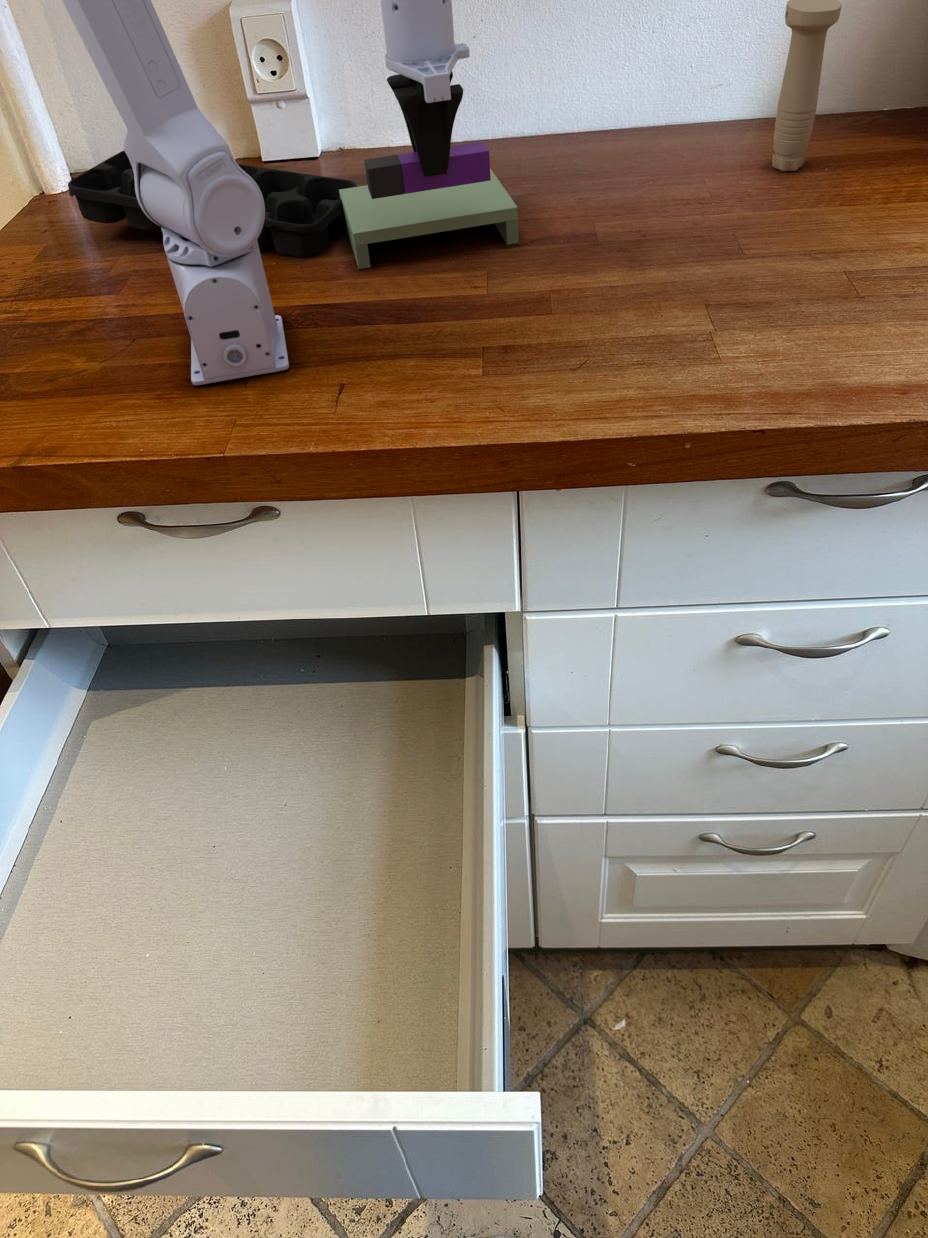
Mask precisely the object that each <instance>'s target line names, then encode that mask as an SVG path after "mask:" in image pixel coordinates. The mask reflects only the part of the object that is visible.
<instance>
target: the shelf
mask: <svg viewBox="0 0 928 1238" xmlns="http://www.w3.org/2000/svg"><path fill="white" fill-rule="evenodd" d="M490 176H491V180H490V181H484V182H478V183H472V184H465V185H459V186H452V187H446V188H440V189H433V190H427V191H421V192H414V193H408V194H405V193H404V194H402V195H395V196H389V197H383V198H376V199H372V198H371V195H370V192H369V189H368V184H366V185H360V186H357V187H353V188H347V189H340V190H339V194H340V199H341V200H342V205H343V210H344V213H343V214H344V221H345V227H344V228H345V230H346V233H347V236H348V239H349V242H350V246H351V248H352V253H353V255H354V259H355V261H356V264H357V268H358V270H363V269H368V268H369V269H370V268H371V267H372V265H371V259H370V252H369V245H370V244H376V243H382V242H388V241H394V240H399V239H407V238H412V237H418V236H425V235H431V234H437V233H444V232H450V231H456V230H461V229H468V228H474V227H480V226H486V225H492V224H493V225H494V226H495V228H496V230H497V231H498V233H499V234H500V236H501V237H502V239H503V240H504V242H505V244H506V245H507V246H509V245H516V244H519V242H520V240H519V239H520V237H519V211H518V210H519V209H518V208H519V207H518V205H516V203H515V202H514V200H513V198H512V197H511V196H510V194H509V193H508V191H507V190H506V188H505V187H504V186H503V185H502V183H501V181H500V180H499V179H498V177H497V175H496V174H495V172H494V171H493V170H492V168H491V167H490Z"/></svg>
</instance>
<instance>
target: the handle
mask: <svg viewBox="0 0 928 1238" xmlns="http://www.w3.org/2000/svg"><path fill="white" fill-rule="evenodd" d="M842 6H843V5H842V2H841V1H840V0H788V1H787V2H786V5H785V12H784V13H785V14H784V20H785V25H786V26H787V27H789V28H790V29H791V35H790V36H791V37H790V43H789V48H788V53H787V57H786V63H785V69H784V72H783V73H784V74H783V79H782V82H781V88H780V93H779V98H778V102H777V108H776V116H775V122H774V130H773V131H774V133H773V152H774V154H772V156H771V157H772V158H771V165H772V168H773V169H776V170H779V171H780V172H796V171H798V170H799V168H802V166H803V165H804V162H805V159H806V155H807V154H806V152H807V150H808V147H809V144H810V139H811V138H812V137H811V136H812V132H813V128H814V124H815V123H814V122H815V119H816V115H817V114H816V113H817V108H818V101H819V93H820V84H821V77H822V69H823V68H822V67H823V60H824V52H825V45H826V40H827V39H826V38H827V32H828V30H829V29H830V28H831V27H832V26H834V25H835V24H837V23H838V22H839V19H840V16H841V12H842V11H841V10H842Z"/></svg>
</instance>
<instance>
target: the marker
mask: <svg viewBox="0 0 928 1238" xmlns="http://www.w3.org/2000/svg"><path fill="white" fill-rule="evenodd" d="M490 157H491V156H490V150H489V148H488V146H486V144H485V142H484V141H477V142H472V143H471V142H470V143H464V144H458V145H451V146H450V156H449V164H448V170H447V173H446V174H441V175H435V176H428V177H425V176H424V174H423V171H422V169H421V166H420V163H419V160H418V156H417V152H414V151H413V152H405V153H399V154H393V155H386V156H379V157H372V158H366V159H364V160H363V161H364V169H365V170H364V171H365V176H366V183H367V185H368V189H369V192H370V195H371V198H372V199H376V198H383V197H389V196H395V195H402V194H404V193H405V194H408V193H414V192H421V191H427V190H433V189H440V188H446V187H452V186H459V185H465V184H472V183H478V182H484V181H490V180H491V176H490V168H491V159H490Z"/></svg>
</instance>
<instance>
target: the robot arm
mask: <svg viewBox="0 0 928 1238" xmlns="http://www.w3.org/2000/svg"><path fill="white" fill-rule="evenodd" d="M61 1H62V3H63V5H64V7H65V9H66V11H67V13H68V15H69V17H70V19H71V21H72V23H73V25H74V26H75V27H74V28H75V29H76V31H77V33H78V35H79V37H80V38H81V39H80V40H81V41H82V43H83V45H84V47H85V48H86V51H87V53H88V55H89V57H90V58H91V60H92V63H93V65H94V67H95V69H96V70H97V72H98V74H99V77H100V78H101V80H102V82H103V85H104V86H105V88H106V91H107V92H108V94H109V96H110V98H111V100H112V102H113V104H114V106H115V108H116V110H117V112H118V114H119V116H120V118H121V120H122V122H123V124H124V126H125V128H126V136H125V139H124V143H123V151H125V153H126V155H127V156H128V158H129V161H130V163H131V165H132V168H133V172H134V181H135V192H136V197H137V200H138V203H139V205H140V207H141V209H142V211H143V212H144V213H145V215H146V216H147V217H148V218H149V219H150V220H151V221H152V222H154V223H155V224H157V225H159V226H161V229H162V230H161V232H162V244H163V250H164V252H165V255H166V259H167V262H168V265H169V269H170V272H171V275H172V277H173V281H174V285H175V289H176V291H177V295H178V297H179V301H180V304H181V308H182V311H183V315H184V319H185V323H186V327H187V329H188V333H189V336H190V339H191V340H190V352H191V353H190V357H191V358H190V382H191V384H192V385H193V386H203V385H208V384H213V383H220V382H227V381H231V380H237V379H242V378H248V377H254V376H260V375H265V374H266V375H267V374H271V373H278V372H283V371H287V370H288V369H289V368H290V362H289V356H288V350H287V349H288V348H287V342H286V335H285V330H284V324H283V323H284V322H283V318H282V316H281V315H278V314H277V315H276V314H275V310H274V306H273V305H274V304H273V302H272V301H273V300H272V297H271V293H270V289H269V284H268V280H267V275H266V271H265V267H264V263H263V258H262V254H261V250H260V248H259V246H258V241H257V239H258V237H259V235H260V233H261V231H262V228H263V225H264V219H265V205H264V200H263V196H262V193H261V191H260V189H259V187H258V185H257V183H256V182H255V181H254V180H253V179H252V177H250V176H249V175H248V174H247V173H246V172H245V171H243V170H242V169H241V168H240V167H239V165H238V164H239V163H237V161H236V159H235V157H234V155H233V153H232V151H231V149H230V146H229V144H228V142H227V141H226V140H225V138H224V137H223V136H222V135H221V134H220V132H219V131H218V130H217V129H216V128H215V126H214V125H213V124H212V123H211V122H210V120H208V119H207V117H206V116H205V115H204V114H203V112H201V109H200V108H199V107H198V103H197V102H196V100H195V98H194V95H193V93H192V91H191V88H190V86H189V84H188V82H187V79H186V78H185V75H184V73H183V71H182V68H181V66H180V64H179V61H178V59H177V56H176V54H175V52H174V49H173V47H172V45H171V43H170V40H169V38H168V36H167V34H166V32H165V30H164V29H165V28H163V24H162V23H161V20H160V18H159V15H158V13H157V11H156V8H155V6H154V4H153V1H152V0H61ZM452 3H453V2H452V0H380V8H381V16H382V25H383V31H384V41H385V49H386V51H385V52H386V54H385V55H384V61H385V67H386V68H387V69H388V71H391V72H392V73H393V72H394V73H396V74H393V75H390V76H388V77H387V78H386V82H387V84H388V86H389V87H390V89H391V90H392V92H393V94H394V97H395V98H396V100H397V102H398V105H399V107H400V109H401V113H402V115H403V118H404V122H405V125H406V128H407V132H408V136H409V140H410V144H411V147H412V151H413V152H417V156H418V160H419V163H420V166H421V169H422V171H423V174H424V176H425V177H428V176H435V175H441V174H446V173H447V170H448V164H449V156H450V147H451V146H452V137H453V136H452V135H453V129H454V123H455V120H456V116H457V113H458V110H459V107H460V105H461V103H462V100H463V97H464V88H463V87H462V85H461V84H460V83H458V84H452V81H453V78H454V74H453V73H454V72H453V69H454V68H455V66H456V64H457V62H458V61H459V60H463V59H467V58H469V57H470V55H471V54H470V47H469V46H468V45H467V43H464V42H463V43H462V42H461V43H455V42H456V41H455V31H454V20H453V19H454V17H453V4H452Z"/></svg>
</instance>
